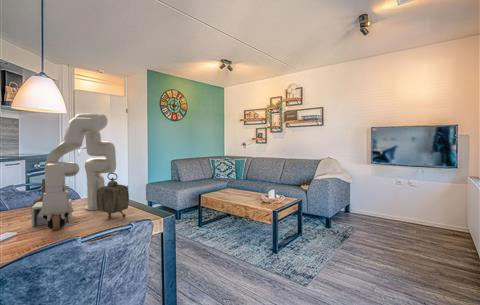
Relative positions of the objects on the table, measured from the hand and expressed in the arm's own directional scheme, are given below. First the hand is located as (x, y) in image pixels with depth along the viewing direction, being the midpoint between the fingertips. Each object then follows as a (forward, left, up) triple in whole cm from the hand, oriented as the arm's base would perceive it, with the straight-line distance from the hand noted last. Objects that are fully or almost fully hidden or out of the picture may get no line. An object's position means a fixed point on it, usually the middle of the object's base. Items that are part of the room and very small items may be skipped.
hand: (56, 227), depth 114 cm
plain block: (+7, -16, -1) cm, 17 cm away
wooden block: (+14, -57, -1) cm, 59 cm away
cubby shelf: (+4, -17, -1) cm, 18 cm away
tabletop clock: (-24, -7, -1) cm, 25 cm away
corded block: (0, -7, -1) cm, 7 cm away
